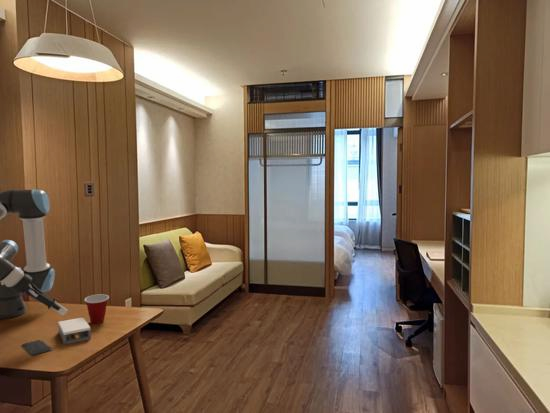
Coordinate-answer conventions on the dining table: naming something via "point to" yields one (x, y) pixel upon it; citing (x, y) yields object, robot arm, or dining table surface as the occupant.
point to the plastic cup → (96, 307)
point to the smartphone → (36, 347)
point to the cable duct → (74, 336)
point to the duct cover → (73, 326)
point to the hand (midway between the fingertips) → (65, 312)
